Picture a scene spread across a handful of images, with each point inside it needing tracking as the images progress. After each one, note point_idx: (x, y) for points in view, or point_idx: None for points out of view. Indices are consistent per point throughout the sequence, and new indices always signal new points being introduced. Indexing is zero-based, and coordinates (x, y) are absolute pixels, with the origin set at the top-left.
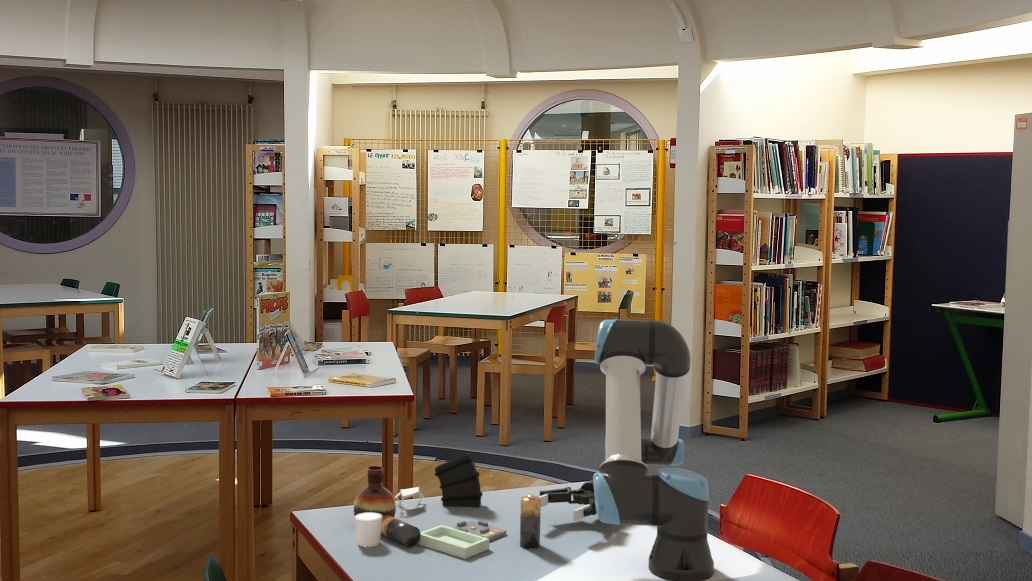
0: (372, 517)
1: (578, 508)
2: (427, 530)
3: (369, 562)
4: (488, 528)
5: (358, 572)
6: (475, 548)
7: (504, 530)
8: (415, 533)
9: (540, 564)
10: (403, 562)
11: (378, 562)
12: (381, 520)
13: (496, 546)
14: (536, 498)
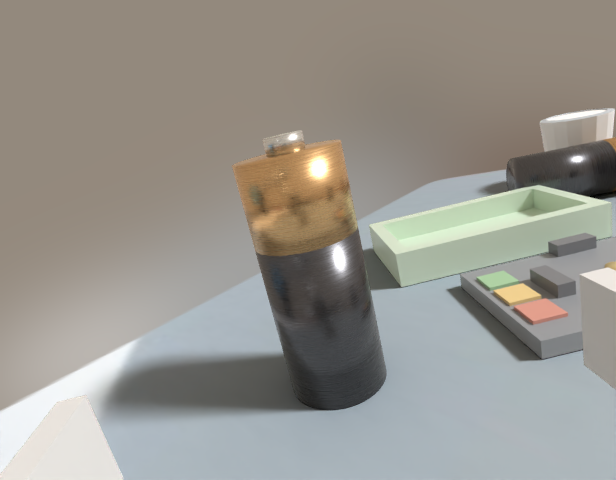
0: (564, 118)
1: (39, 456)
2: (557, 191)
3: (460, 186)
4: (555, 282)
5: (424, 185)
6: (380, 247)
7: (546, 336)
8: (518, 178)
9: (191, 339)
10: (429, 205)
11: (452, 191)
12: (561, 129)
13: (411, 303)
14: (262, 160)
